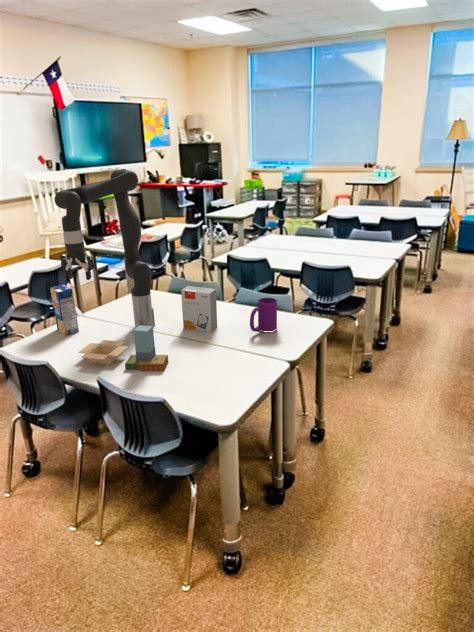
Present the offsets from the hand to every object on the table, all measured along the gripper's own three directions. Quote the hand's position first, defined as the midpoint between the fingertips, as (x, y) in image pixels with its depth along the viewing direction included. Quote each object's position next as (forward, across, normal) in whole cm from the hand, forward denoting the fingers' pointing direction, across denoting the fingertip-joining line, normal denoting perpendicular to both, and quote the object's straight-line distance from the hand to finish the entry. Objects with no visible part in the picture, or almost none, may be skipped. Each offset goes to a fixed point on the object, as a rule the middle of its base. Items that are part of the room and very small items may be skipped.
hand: (79, 279), depth 199 cm
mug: (+33, -71, -37) cm, 86 cm away
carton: (+34, -32, +9) cm, 48 cm away
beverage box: (+33, +24, -18) cm, 45 cm away
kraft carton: (+33, -11, +7) cm, 36 cm away
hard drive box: (+33, -40, -35) cm, 63 cm away
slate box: (+29, -32, +8) cm, 44 cm away
